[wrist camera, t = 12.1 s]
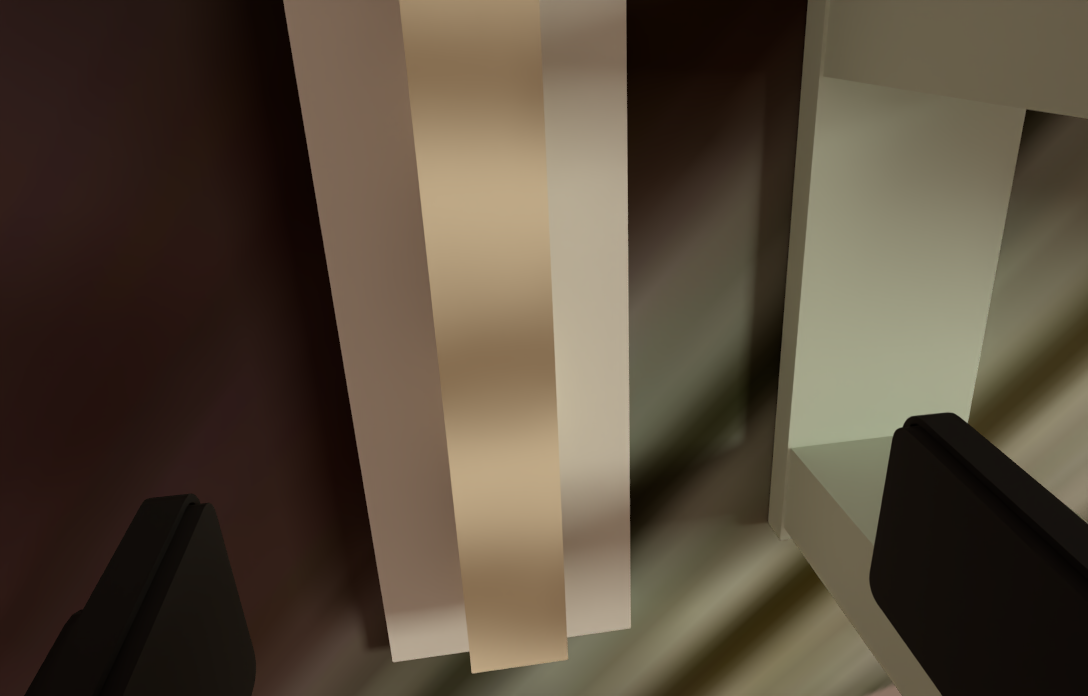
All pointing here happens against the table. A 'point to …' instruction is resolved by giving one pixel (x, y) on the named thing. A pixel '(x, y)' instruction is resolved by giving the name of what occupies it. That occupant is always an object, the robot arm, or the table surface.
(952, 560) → the robot arm
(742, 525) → the table surface
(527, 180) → the rail
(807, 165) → the cradle stand
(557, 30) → the felt mat
